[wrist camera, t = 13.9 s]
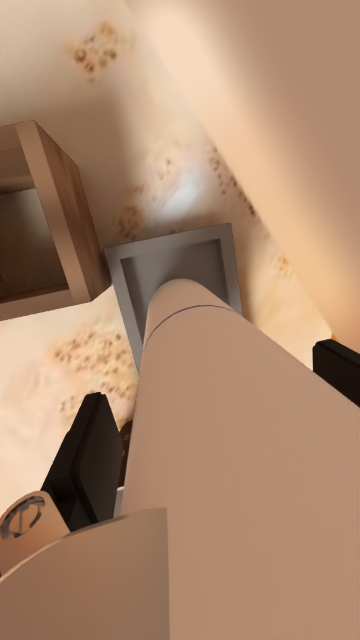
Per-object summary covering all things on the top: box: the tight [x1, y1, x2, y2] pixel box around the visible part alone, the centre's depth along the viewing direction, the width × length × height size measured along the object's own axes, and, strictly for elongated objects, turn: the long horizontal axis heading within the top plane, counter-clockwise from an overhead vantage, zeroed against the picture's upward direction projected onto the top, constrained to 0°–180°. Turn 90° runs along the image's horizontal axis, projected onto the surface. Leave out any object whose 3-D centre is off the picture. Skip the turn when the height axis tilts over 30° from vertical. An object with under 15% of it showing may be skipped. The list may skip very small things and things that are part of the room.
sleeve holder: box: [0, 120, 111, 321], centre depth 20 cm, size 11×11×8 cm
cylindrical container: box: [120, 278, 360, 640], centre depth 14 cm, size 7×7×25 cm
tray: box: [103, 222, 243, 374], centre depth 26 cm, size 16×12×2 cm
